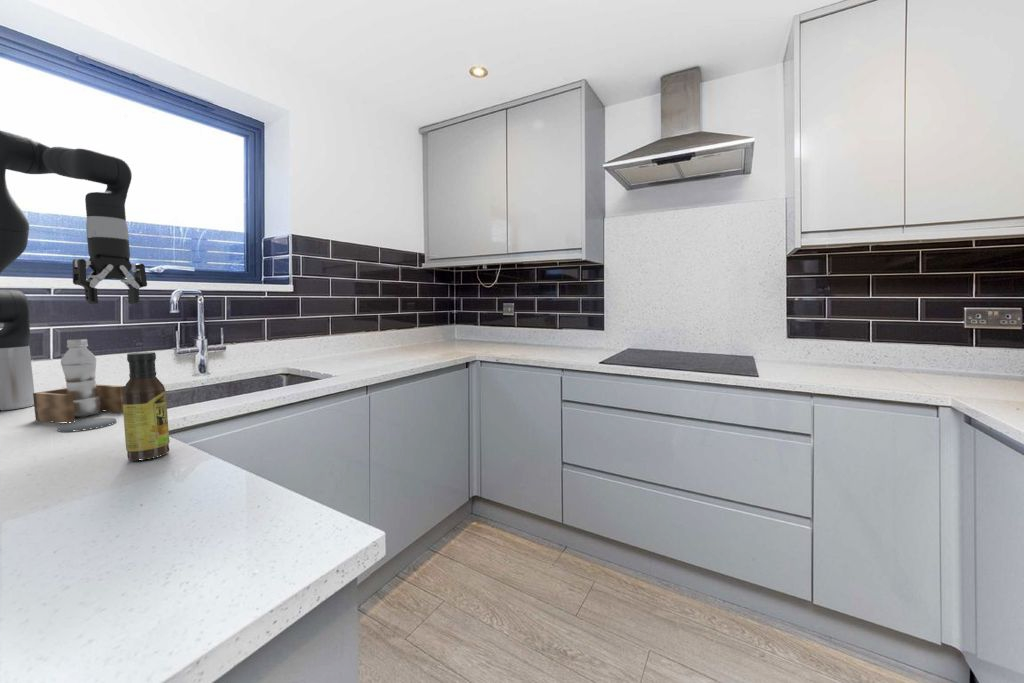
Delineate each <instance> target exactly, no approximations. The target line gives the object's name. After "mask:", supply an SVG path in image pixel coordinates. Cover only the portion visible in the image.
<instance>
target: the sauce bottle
mask: <svg viewBox="0 0 1024 683" xmlns="http://www.w3.org/2000/svg"><path fill="white" fill-rule="evenodd" d="M156 356H157V354H156V352H155V351H150V352H148V351H143V352H140V351H139V352H129V353H127V354H126V361H127V362H128V367H129V375H128V376H129V380H128V381H127V382H126V384H125V387H124V388H123V426H124V427H123V428H124V437H125V449H126V451H127V460H129V459H130V460H139V459H148V458H153V457H157V456H160V455H163V454H165V453H167V452H168V451H169V452H170V447H169V444H170V434H169V432H170V431H169V418H168V406H167V404H168V403H167V392H166V389H165V386H164V384H163V383H162V381H160V379H159V378H158V376H157V371H156V359H157V357H156ZM169 452H168V453H169ZM168 453H167V454H168ZM165 455H166V454H165ZM163 456H164V455H163ZM157 458H158V457H157ZM153 459H154V458H153ZM130 460H129V461H130ZM148 460H149V459H148Z"/></svg>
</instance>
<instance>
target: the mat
mask: <svg viewBox="0 0 1024 683" xmlns="http://www.w3.org/2000/svg"><path fill="white" fill-rule="evenodd" d="M115 422H116V423H117V419H116V418H115V417H96V418H89V419H88V418H87V419H82V420H75V422H71V423H67V424H64V423H62V424H61V425H59V426H57V431H58V430H60V431H73V430H83V429H90V428H96V427H101V426H106V425H109V424H112V423H115ZM116 423H115V424H116ZM112 425H113V424H112ZM109 426H110V425H109ZM106 427H107V426H106ZM60 431H59V432H60Z"/></svg>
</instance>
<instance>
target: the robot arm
mask: <svg viewBox="0 0 1024 683" xmlns="http://www.w3.org/2000/svg"><path fill="white" fill-rule="evenodd" d="M6 170H9V171H12V172H16V173H17V172H18V173H20V174H21V173H22V174H27V175H49V174H56V175H58V176H62V177H66V178H70V179H76V180H84V181H89V182H93V183H99V184H101V185H106V189H105V191H104V192H103V191H96V192H95V191H94V192H93V191H91V192H88V193H86V195H85V198H84V199H85V201H84V202H85V212H86V226H85V228H86V229H85V230H86V242H87V251H88V252H87V253H88V255H89V260H88V259H87V260H86V259H84V258H77V259H76V258H75V259H73V260H72V283H73V285H76V286H81V287H82V288H83V289H84V296H85V297H84V298H85V301H86V302H88V304H89V305H98V303H99V299H98V297H99V296H98V288H97V286H98V285H99V283H100V282H101V281H103V280H119V281H120V282H121V283H123V284H124V285H125V287H127V288H128V289H127V296H128V300H127V301H128V304H129V305H130V304H131V305H134V304H135V305H136V304H138V303H139V302H140V289H141V288H144V287H147V286H148V280H147V275H146V273H147V272H146V267H145V264H144V263H132V262H131V261H130V258H131V248H130V239H129V238H130V237H129V228H128V225H127V219H126V218H127V216H126V200H127V197H128V192H129V189H130V185H131V182H132V177H133V176H132V170H131V168H130V166H129V164H128V163H127V162H126V161H125V160H123V159H121V158H119V157H116V156H112V155H109V154H105V153H101V152H99V151H98V152H97V151H95V150H90V149H85V148H82V147H81V148H79V147H78V148H77V147H76V148H72V147H71V148H70V147H63V146H52V147H50V146H48V145H45V144H43V143H41V142H40V141H39V142H38V141H36V140H34V139H32V138H29V137H26V136H22V135H18V134H15V133H11V132H7V131H5V130H1V129H0V274H1V273H2V272H3V271H4V270H5V269H6V268H7V267H9V265H11V264H12V263H13V262H15V260H17V259H18V258H19V257H20V256H21V255H22V254H23V253H24V252H25V250H27V246H28V243H29V242H28V241H29V233H30V232H29V231H30V223H29V221H28V218H27V216H26V215H25V213H24V212H23V210H22V209H21V208H20V206H19V205H18V204H17V202H16V201H15V200H14V198H13V197H12V195H11V193H10V191H9V189H8V185H7V180H6ZM89 268H90V269H91V270H92V271H91V272H90V274H88V276H87V269H89ZM130 271H131V272H133V275H132V274H131V273H130ZM29 304H30V303H29V301H28V298H27V296H26V295H25V293H23V292H22V291H20V290H16V289H15V290H14V289H0V324H3V326H2V328H1V329H0V410H1V411H9V410H17V409H23V408H28V407H31V406H34V399H33V393H35V386H34V376H33V366H32V358H31V350H30V338H31V327H30V326H31V325H30V305H29Z"/></svg>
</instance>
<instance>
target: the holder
mask: <svg viewBox="0 0 1024 683" xmlns="http://www.w3.org/2000/svg"><path fill="white" fill-rule="evenodd" d="M124 387H125V386H124V385H115V384H114V385H113V384H98V383H97V384H96V388H97V392H98V396H99V398H100V401H101V409H100V410H106V411H105V412H109V411H114V412H113V413H120V412H121V414H122V413H123V388H124ZM33 399H34V405H33V406H34V416H35V417H34V418H35V421H36V420H41V421H40V422H45V421H53V422H52V423H55V422H67V423H69V422H74V421H76V417H75V416H74V406H73V396H72V395H70V394H67V387H66V388H64V387H63V388H58V389H51V390H46V391H45V390H44V391H38V392H34V393H33Z"/></svg>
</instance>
